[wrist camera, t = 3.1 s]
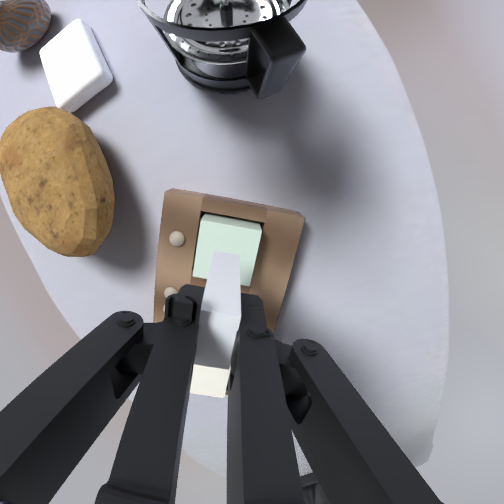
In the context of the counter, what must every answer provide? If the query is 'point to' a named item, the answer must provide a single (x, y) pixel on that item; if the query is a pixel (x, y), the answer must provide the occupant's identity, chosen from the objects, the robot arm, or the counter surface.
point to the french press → (232, 41)
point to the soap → (74, 66)
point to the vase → (22, 23)
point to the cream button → (209, 381)
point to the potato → (57, 181)
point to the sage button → (227, 243)
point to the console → (186, 237)
